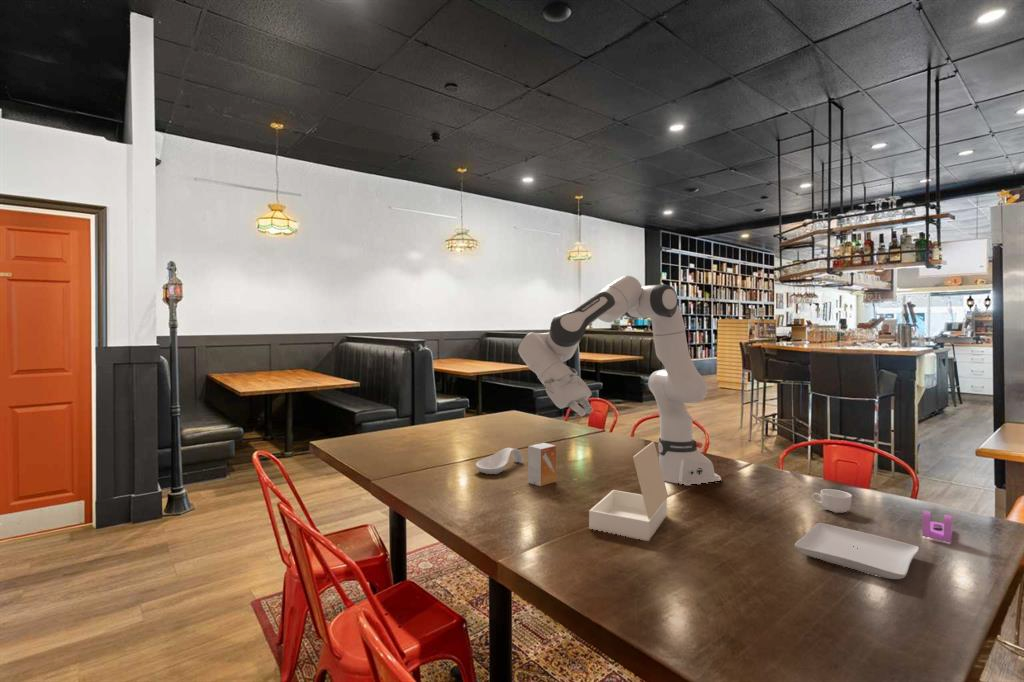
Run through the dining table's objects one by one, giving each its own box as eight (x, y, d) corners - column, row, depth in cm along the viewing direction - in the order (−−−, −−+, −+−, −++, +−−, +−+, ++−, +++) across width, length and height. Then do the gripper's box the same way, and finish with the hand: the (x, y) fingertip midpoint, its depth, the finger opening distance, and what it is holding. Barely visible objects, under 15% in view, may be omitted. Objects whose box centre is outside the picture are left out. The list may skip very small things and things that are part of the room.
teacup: (851, 509, 149) (851, 492, 149) (851, 518, 143) (852, 499, 143) (812, 503, 155) (812, 486, 155) (811, 511, 148) (811, 493, 148)
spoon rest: (494, 479, 180) (494, 459, 180) (469, 474, 187) (469, 455, 187) (530, 465, 199) (530, 447, 199) (507, 460, 206) (507, 443, 206)
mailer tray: (589, 528, 135) (589, 510, 135) (612, 506, 152) (613, 489, 152) (648, 541, 127) (648, 521, 127) (666, 515, 144) (666, 498, 144)
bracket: (950, 545, 125) (951, 518, 125) (922, 539, 129) (922, 512, 129) (952, 530, 135) (952, 504, 134) (925, 524, 138) (926, 499, 138)
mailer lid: (632, 456, 128) (634, 456, 128) (652, 441, 146) (654, 441, 146) (648, 519, 127) (650, 519, 127) (666, 496, 144) (668, 496, 144)
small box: (540, 487, 171) (540, 449, 170) (527, 482, 175) (527, 445, 175) (556, 482, 176) (556, 445, 176) (543, 478, 181) (543, 442, 181)
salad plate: (817, 532, 133) (817, 520, 133) (919, 559, 118) (920, 544, 118) (792, 558, 118) (792, 544, 118) (905, 592, 103) (906, 575, 103)
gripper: (548, 373, 139) (581, 411, 135) (576, 368, 157) (606, 402, 153) (534, 388, 142) (566, 426, 137) (563, 382, 159) (592, 415, 155)
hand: (587, 413), depth 145 cm, fingers open, 4 cm apart
